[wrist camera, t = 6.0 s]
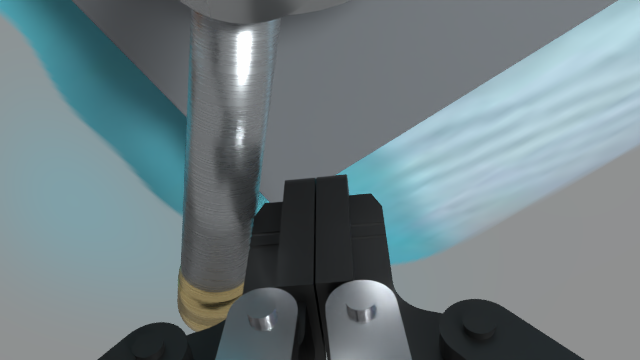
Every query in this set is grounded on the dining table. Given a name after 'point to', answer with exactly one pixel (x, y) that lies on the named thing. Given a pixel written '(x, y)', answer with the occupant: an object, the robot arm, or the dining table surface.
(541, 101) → the dining table surface
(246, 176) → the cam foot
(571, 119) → the dining table surface
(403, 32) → the switch base
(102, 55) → the dining table surface
